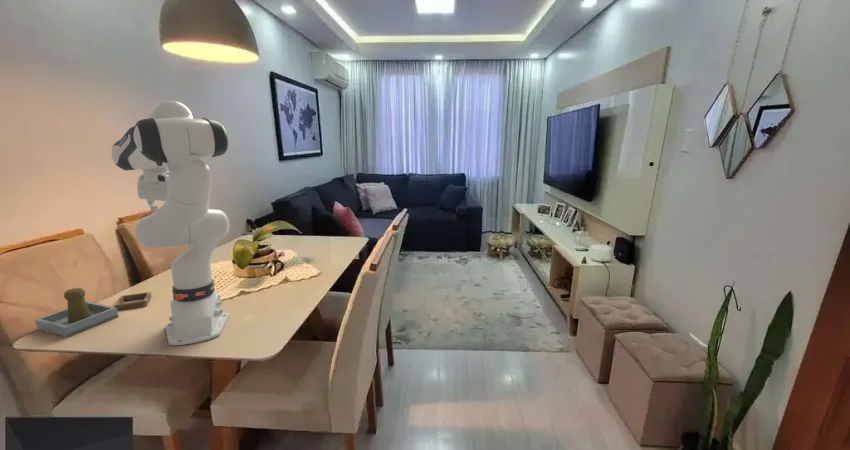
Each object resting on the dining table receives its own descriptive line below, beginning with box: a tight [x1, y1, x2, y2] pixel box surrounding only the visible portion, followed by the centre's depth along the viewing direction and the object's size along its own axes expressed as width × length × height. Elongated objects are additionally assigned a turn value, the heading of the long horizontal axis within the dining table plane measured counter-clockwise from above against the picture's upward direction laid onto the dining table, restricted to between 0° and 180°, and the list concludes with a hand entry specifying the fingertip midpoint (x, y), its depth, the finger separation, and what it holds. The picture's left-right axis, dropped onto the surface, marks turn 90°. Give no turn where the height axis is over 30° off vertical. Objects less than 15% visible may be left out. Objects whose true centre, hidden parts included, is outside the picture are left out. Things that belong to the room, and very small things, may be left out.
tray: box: [34, 300, 120, 338], centre depth 126 cm, size 15×15×4 cm
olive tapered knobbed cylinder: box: [63, 287, 91, 324], centre depth 125 cm, size 6×6×11 cm
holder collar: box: [113, 291, 153, 311], centre depth 141 cm, size 10×10×2 cm
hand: (163, 211), depth 142 cm, fingers open, 8 cm apart
